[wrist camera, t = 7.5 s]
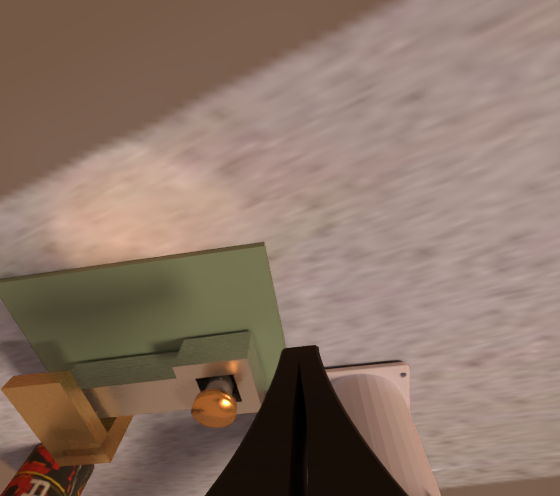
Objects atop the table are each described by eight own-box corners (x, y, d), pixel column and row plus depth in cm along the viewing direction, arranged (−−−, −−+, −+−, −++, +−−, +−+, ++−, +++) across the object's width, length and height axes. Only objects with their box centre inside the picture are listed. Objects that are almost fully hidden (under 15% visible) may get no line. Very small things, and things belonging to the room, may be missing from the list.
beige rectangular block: (251, 331, 22) (246, 358, 20) (265, 381, 25) (262, 411, 22) (70, 354, 24) (46, 382, 22) (98, 399, 26) (79, 429, 24)
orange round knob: (248, 370, 24) (240, 425, 20) (213, 373, 25) (198, 429, 21) (241, 342, 23) (230, 395, 19) (204, 346, 24) (185, 399, 19)
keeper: (136, 409, 27) (110, 462, 23) (92, 413, 27) (59, 466, 23) (97, 335, 23) (59, 382, 20) (48, 341, 24) (0, 388, 20)
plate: (293, 382, 26) (293, 388, 25) (76, 402, 28) (72, 408, 27) (264, 242, 20) (263, 246, 20) (-2, 279, 22) (-9, 284, 22)
